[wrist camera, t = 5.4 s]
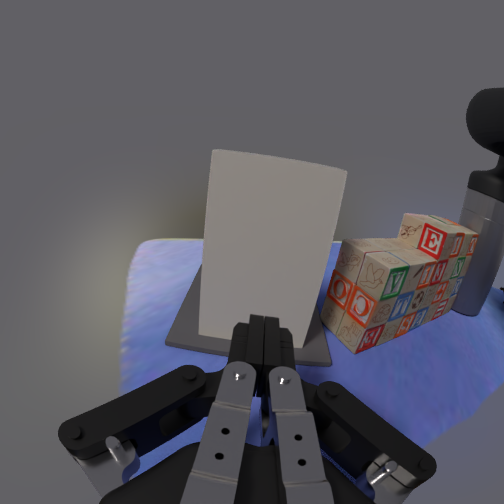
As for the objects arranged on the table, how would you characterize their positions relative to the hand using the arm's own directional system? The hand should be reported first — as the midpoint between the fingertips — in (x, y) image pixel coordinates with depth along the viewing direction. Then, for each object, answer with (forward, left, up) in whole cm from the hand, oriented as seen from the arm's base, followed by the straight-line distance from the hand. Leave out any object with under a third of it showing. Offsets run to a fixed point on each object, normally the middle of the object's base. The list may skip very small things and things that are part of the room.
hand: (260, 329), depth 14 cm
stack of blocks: (-23, -3, -8) cm, 24 cm away
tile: (-4, -7, -7) cm, 10 cm away
